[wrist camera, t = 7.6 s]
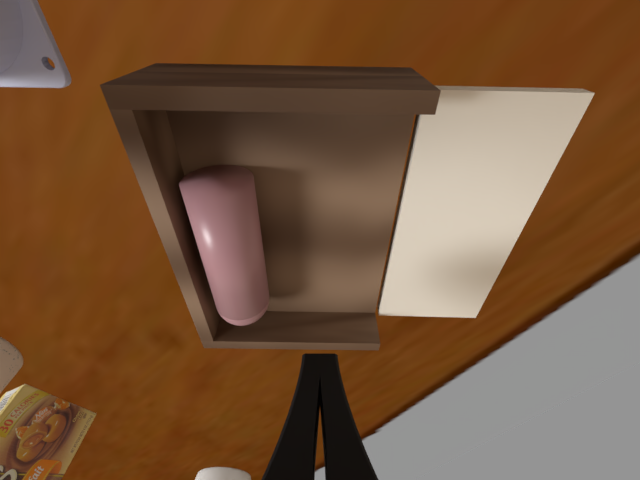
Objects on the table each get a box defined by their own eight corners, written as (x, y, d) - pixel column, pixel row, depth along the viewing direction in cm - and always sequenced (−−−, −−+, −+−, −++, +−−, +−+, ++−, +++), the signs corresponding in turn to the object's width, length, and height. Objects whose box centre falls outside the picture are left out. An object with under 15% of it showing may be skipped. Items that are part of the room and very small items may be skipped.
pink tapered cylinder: (193, 164, 15) (167, 197, 12) (259, 165, 15) (246, 198, 12) (227, 295, 21) (214, 336, 18) (274, 296, 21) (267, 337, 18)
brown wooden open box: (156, 63, 14) (99, 84, 10) (410, 67, 14) (441, 90, 10) (221, 296, 24) (203, 348, 20) (370, 298, 24) (378, 350, 20)
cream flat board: (426, 89, 13) (595, 92, 13) (422, 85, 13) (582, 88, 13) (378, 315, 22) (475, 317, 22) (377, 306, 23) (471, 309, 23)
